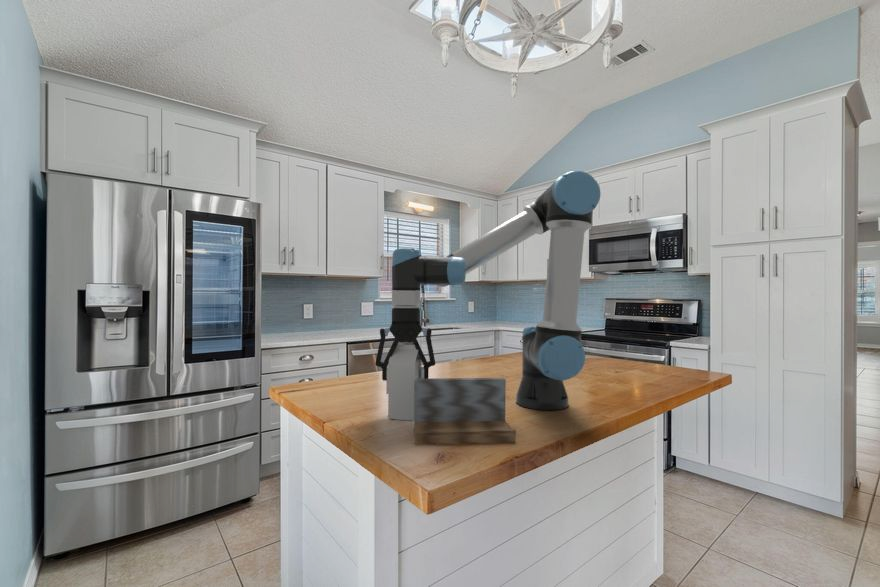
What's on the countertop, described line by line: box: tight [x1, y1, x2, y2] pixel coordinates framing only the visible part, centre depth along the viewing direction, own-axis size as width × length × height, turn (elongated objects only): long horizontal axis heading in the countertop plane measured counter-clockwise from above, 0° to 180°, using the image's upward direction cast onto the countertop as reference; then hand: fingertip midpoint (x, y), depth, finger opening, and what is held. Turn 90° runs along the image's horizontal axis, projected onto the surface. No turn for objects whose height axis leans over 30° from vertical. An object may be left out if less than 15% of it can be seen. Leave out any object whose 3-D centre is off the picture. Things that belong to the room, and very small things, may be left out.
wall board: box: [413, 377, 517, 446], centre depth 95 cm, size 22×11×12 cm, turn 96°
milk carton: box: [387, 343, 423, 421], centre depth 109 cm, size 7×7×19 cm
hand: (405, 392), depth 109 cm, fingers closed on milk carton, 8 cm apart
